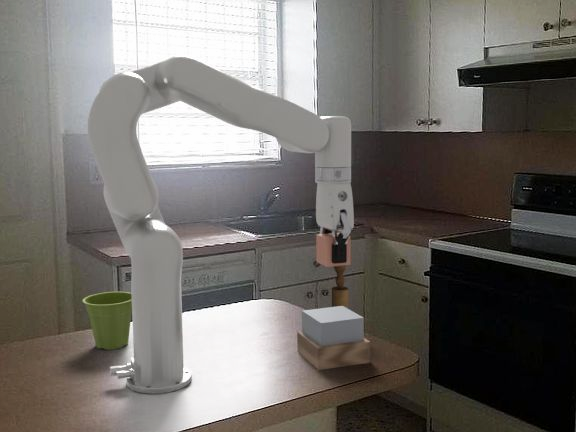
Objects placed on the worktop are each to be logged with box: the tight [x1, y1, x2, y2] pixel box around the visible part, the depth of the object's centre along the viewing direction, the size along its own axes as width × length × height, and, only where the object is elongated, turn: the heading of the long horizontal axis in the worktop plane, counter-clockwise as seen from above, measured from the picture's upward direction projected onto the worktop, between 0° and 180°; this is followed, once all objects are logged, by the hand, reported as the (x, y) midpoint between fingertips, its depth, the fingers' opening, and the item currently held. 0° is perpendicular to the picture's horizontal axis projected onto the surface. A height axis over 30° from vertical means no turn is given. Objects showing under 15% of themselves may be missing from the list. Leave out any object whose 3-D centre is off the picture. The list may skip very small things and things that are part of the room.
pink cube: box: [315, 233, 352, 268], centre depth 141 cm, size 6×6×6 cm
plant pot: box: [82, 291, 132, 351], centre depth 152 cm, size 12×12×11 cm
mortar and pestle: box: [331, 265, 349, 309], centre depth 160 cm, size 7×6×18 cm
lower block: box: [296, 330, 371, 371], centre depth 144 cm, size 12×12×5 cm
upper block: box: [301, 306, 365, 346], centre depth 144 cm, size 10×10×5 cm
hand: (333, 259), depth 142 cm, fingers closed on pink cube, 5 cm apart
